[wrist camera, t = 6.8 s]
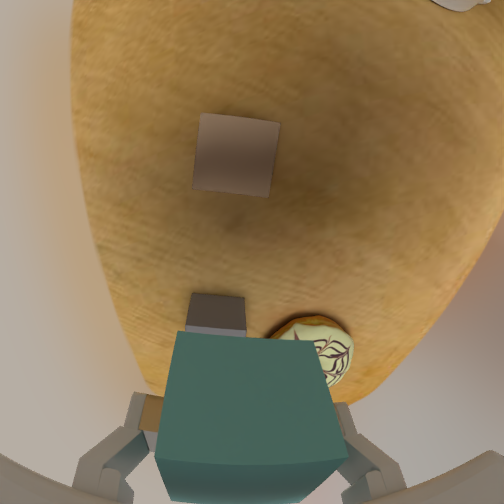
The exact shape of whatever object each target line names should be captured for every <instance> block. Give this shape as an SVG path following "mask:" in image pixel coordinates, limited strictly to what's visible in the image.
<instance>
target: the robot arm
mask: <svg viewBox="0 0 504 504" xmlns="http://www.w3.org/2000/svg"><path fill="white" fill-rule="evenodd" d="M432 1H434V2H436V3H437V4H439V5H441V6H443V7H445V8H448V9H451V10H454V11H460V12H463V11H468V10H470V9H471V8H472V7H474V6H475V5H477V4H487V3H489V2H491V0H432ZM163 401H164V397H161V396H155V395H149V394H144V393H139V392H134V393H133V395H132V397H131V401H130V405H129V408H128V412H127V416H126V420H125V424H124V427H122V426H120V427H118V428H117V429H116V430H115V431H114V432H112V433H111V434H110V435H108V436H107V437H106V438H105V439H103V440H102V441H101V442H100V443H98V444H97V445H96V446H95V447H93V448H92V449H91V450H90V451H88V452H87V453H86V454H84V455H83V456H82V457H81V458H80V459H79V463H78V466H77V470H76V474H75V477H74V481H73V485H72V487H69V486H67V485H64V484H62V483H59V482H57V481H54V480H52V479H49V478H47V477H45V476H43V475H40V474H38V473H36V472H34V471H32V470H30V469H28V468H26V467H24V466H22V465H20V464H18V463H16V462H14V461H13V460H11V459H9V458H7V457H5V456H4V455H2V454H0V504H133V497H134V491H133V490H132V489H131V487H130V486H129V485H128V483H127V482H126V480H125V478H126V477H127V476H128V475H129V474H130V473H131V472H132V471H133V470H134V468H135V467H136V466H137V465H138V464H139V463H140V462H141V461H142V460H143V459H144V458H145V457H146V456H147V455H148V454H149V451H151V452H155V449H156V442H157V436H158V430H159V424H160V418H161V412H162V407H163ZM333 405H334V408H335V411H336V415H337V418H338V421H339V425H340V428H341V431H342V435H343V438H344V442H345V445H346V449H347V452H348V456H349V457H348V458H347V459H346V461H345V462H344V463H343V464H342V465H341V466H340V467H338V468H337V469H336V470H337V471H338V472H339V473H340V474H341V475H342V476H343V477H344V478H345V479H346V480H347V481H348V482H349V483H350V484H351V486H350V487H349V488H347V489H346V490H345V491H343V492H342V494H341V496H342V501H343V504H504V456H502V455H500V454H499V453H497V452H495V451H492V450H489V451H486V452H484V453H482V454H481V455H479V456H477V457H475V458H474V459H472V460H470V461H468V462H466V463H465V464H462V465H460V466H458V467H456V468H454V469H452V470H450V471H448V472H446V473H444V474H442V475H440V476H437V477H435V478H432V479H430V480H428V481H426V482H423V483H420V484H418V485H415V486H412V487H410V488H407V486H406V483H405V481H404V478H403V475H402V472H401V470H400V467H399V464H398V463H397V462H395V461H394V460H393V459H392V458H390V457H389V456H388V455H387V454H385V453H384V452H383V451H382V450H380V449H379V448H378V447H377V446H375V445H374V444H373V443H371V442H370V441H369V440H368V439H367V438H365V437H364V436H363V435H362V434H357V431H356V428H355V425H354V422H353V419H352V416H351V414H350V411H349V408H348V405H347V403H346V402H336V403H333Z"/></svg>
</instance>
